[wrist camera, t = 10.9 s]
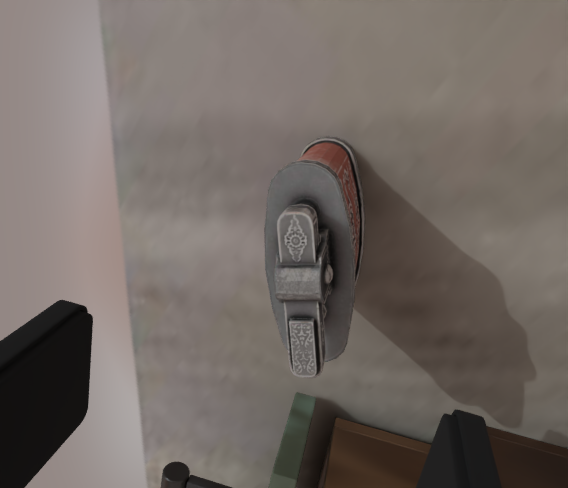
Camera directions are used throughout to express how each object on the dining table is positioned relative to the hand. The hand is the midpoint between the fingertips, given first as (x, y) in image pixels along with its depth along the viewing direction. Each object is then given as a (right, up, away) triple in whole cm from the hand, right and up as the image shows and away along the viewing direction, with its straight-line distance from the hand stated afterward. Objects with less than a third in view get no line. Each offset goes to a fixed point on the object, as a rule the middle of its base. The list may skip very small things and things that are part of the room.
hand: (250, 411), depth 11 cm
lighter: (+3, +5, +15) cm, 16 cm away
